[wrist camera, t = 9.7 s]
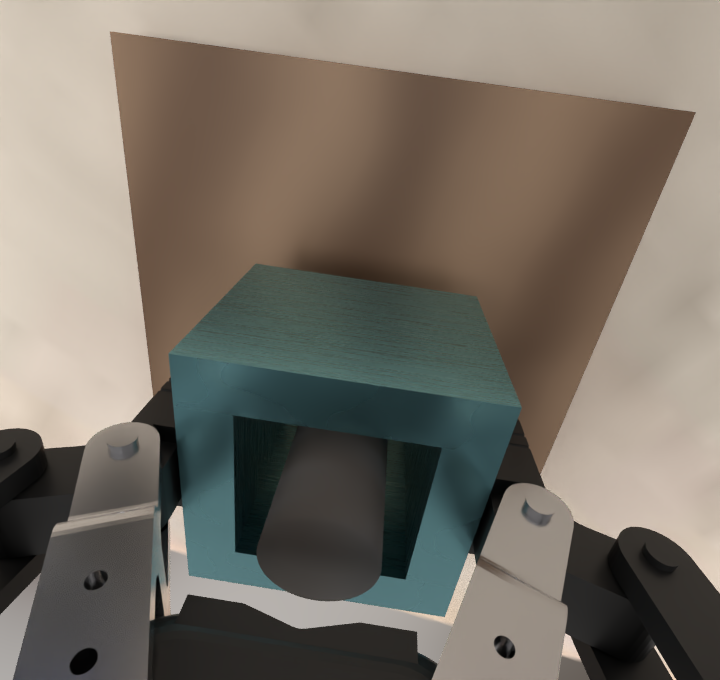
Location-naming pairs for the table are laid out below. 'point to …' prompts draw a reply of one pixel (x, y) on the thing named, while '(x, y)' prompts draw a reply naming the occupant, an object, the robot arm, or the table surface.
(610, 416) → the table surface
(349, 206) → the post stand
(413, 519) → the collar
